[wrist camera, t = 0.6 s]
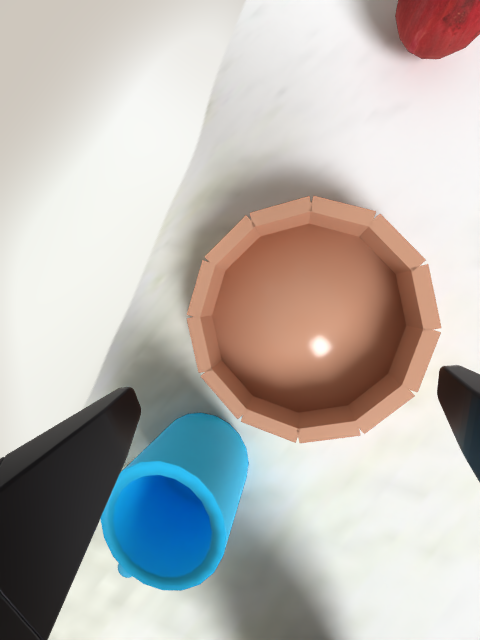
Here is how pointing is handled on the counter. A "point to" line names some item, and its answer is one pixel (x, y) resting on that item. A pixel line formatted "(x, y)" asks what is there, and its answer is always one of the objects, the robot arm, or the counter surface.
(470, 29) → the onion
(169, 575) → the mug
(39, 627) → the robot arm
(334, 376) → the bowl
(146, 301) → the counter surface
